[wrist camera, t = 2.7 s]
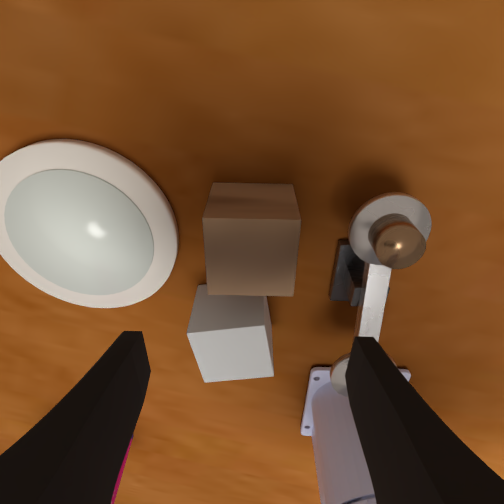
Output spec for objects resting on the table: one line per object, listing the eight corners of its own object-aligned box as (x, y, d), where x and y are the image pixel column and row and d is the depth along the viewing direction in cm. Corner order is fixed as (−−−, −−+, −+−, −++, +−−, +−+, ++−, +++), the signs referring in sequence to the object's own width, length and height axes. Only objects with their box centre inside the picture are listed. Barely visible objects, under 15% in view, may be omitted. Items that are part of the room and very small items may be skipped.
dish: (186, 300, 24) (183, 312, 23) (30, 296, 24) (20, 308, 23) (168, 141, 18) (162, 147, 17) (-40, 136, 18) (-58, 142, 17)
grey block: (271, 324, 25) (274, 376, 21) (212, 330, 25) (204, 382, 22) (263, 276, 23) (264, 325, 19) (198, 284, 23) (186, 333, 19)
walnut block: (286, 250, 21) (293, 296, 18) (216, 249, 21) (207, 294, 18) (292, 183, 19) (301, 220, 15) (213, 181, 19) (202, 218, 15)
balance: (367, 339, 26) (389, 399, 21) (315, 338, 26) (326, 397, 21) (416, 174, 19) (463, 215, 14) (344, 172, 19) (369, 213, 14)
